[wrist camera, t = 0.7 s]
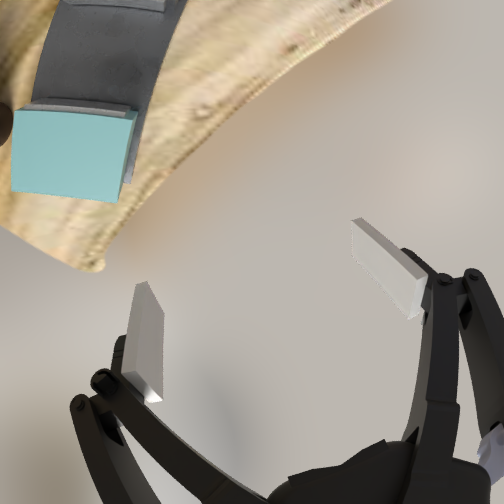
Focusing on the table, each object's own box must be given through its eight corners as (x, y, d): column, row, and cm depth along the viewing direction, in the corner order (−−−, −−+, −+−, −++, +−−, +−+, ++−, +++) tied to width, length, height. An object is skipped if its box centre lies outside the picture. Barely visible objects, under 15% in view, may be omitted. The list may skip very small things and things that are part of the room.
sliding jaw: (37, 97, 21) (15, 105, 17) (139, 106, 27) (134, 114, 23) (30, 171, 26) (11, 190, 22) (123, 182, 32) (117, 203, 28)
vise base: (79, -28, 13) (60, -46, 7) (196, -17, 20) (205, -37, 14) (30, 166, 28) (6, 191, 22) (131, 178, 34) (125, 205, 28)
